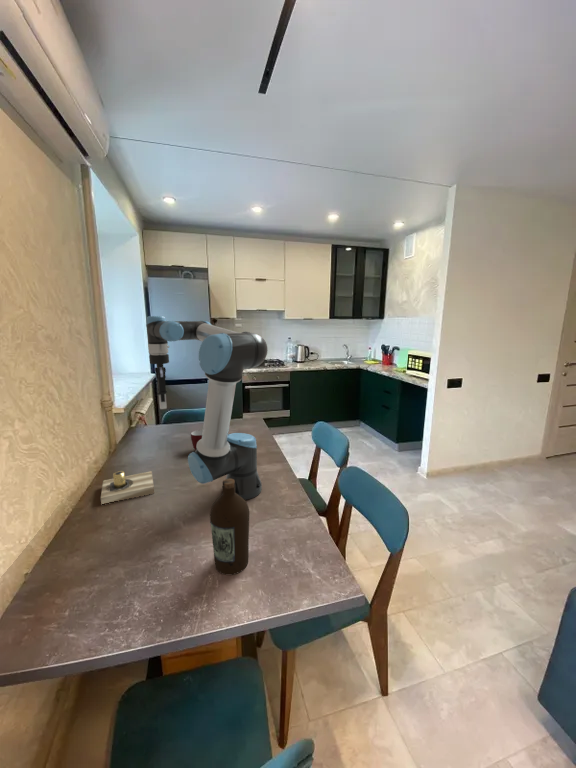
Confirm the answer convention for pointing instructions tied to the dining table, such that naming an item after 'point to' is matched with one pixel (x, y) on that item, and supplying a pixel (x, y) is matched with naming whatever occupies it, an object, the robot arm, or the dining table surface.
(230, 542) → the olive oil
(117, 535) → the dining table surface
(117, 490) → the jig
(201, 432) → the mug
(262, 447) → the dining table surface
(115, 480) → the cylinder with metal cap
